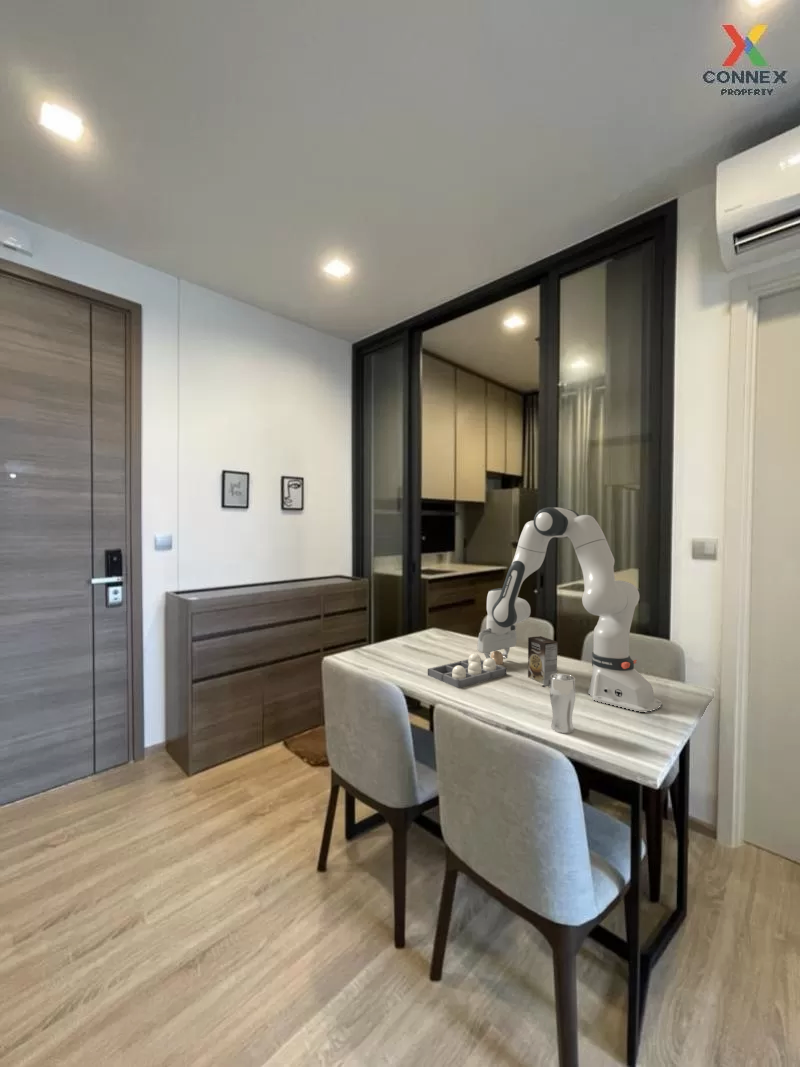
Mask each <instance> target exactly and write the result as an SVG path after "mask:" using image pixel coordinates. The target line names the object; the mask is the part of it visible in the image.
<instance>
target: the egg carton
mask: <svg viewBox="0 0 800 1067" xmlns="http://www.w3.org/2000/svg"><path fill="white" fill-rule="evenodd" d="M483 662H484V660H483V659H481V674H478V675H472V674H469V673H468V666H469V664H468V659H464V660H460V661H456V662H450V663H447V664H442V665H439V666H438V665H437V666H434V667H430V668H427V677H431V678H433V679H435V680H438V681H439V682H442V683H445V684H447V685H450V686H452V687H454V688H457V689H461V688H464V687H467V686H468V687H469V686H471V685H475V684H479V683H482V682H487V681H489V680H494V679H497V678H499V677H503V676H507V668H506V667H505V666H502V665H496V670H493V671H487V670H485V669H483ZM458 665H460V666H462V667H464V668H465V670H466V678H463V679H459V680H458V679H455V678H453V677H452V670H453V668H454V667H455V666H458Z"/></svg>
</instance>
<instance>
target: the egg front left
mask: <svg viewBox="0 0 800 1067" xmlns="http://www.w3.org/2000/svg"><path fill="white" fill-rule="evenodd" d="M452 677H453V678H455V679H458V680H459V679H463V678H466V670H465V668H464V667H462V666H460V665H458V666H455V667H454V668H453V670H452Z"/></svg>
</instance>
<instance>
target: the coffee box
mask: <svg viewBox="0 0 800 1067" xmlns="http://www.w3.org/2000/svg"><path fill="white" fill-rule="evenodd" d="M527 638H528V639H527V646H528V647H527V668H528V669H527V678H529V679H531V680H532V681H535V682H538V684H539V683H540V684H542V687H543V686H544V687H543V688H546V687H545V686H548V687H550V679H551V675H552V674H555V673H558V641H556V640H554V639H550V638H549V637H548V638H547V637H545V636H529V637H527Z"/></svg>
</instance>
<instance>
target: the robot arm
mask: <svg viewBox="0 0 800 1067" xmlns="http://www.w3.org/2000/svg"><path fill="white" fill-rule="evenodd" d="M553 538H567V539H569V540H570V541H571V544H572V547H573V549H574V551H575V556H577V560H578V563H579V565H580V569H581V571H582V572H581V573H582V577H583V588H584V591H583V594H582V597H581V601H582V602H581V603H582V605H583V607H584V609H585V611H586V612H587V613H589V614H590V615H593V616H597V617H598V621H597V623H596V625H595V627H594V629H593V650H592V652H591V666H592V673H591V679H590V684H589V687H588V690H587V693H588V695H589V694H590V697H592V698H593V699H592V698H591V699H592V701H594V700H595V701H594V702H597V701H598V702H597V703H601V702H602V703H601V704H605V703H606V704H605V705H608V704H610V705H609V706H612V705H614V706H613V707H616V706H618V708H620V707H622V708H621V709H624V708H626V709H625V710H628V709H630V710H629V711H632V710H634V711H633V712H636V711H639V712H638V713H640V712H644V711H650V710H653V709H656V708H658V707H659V706H661V704H662V705H663V702H662V700H661V699H658V698H656V697H655V693H654V692H655V691H654V687H653V685H652V683H650V681H648V679H646V678H645V677H644V676H643V675H642V674H641V673H640V672H639V671H637V669H635V664H637V659H634V660H633V659H632V658H631V656H630V633H631V632H630V631H631V627H632V623H633V618H634V613H635V609H636V606H637V605H638V603H639V601H640V592H639V589H638V588H637V586H635V585H634V584H633V583H631V582H628V581H626V580H625V581H624V580H616V578H615V570H614V567H615V566H614V565H615V564H616V563H615V562H616V561H615V558H614V554H613V553H612V551H611V548H610V545H609V543H608V540H607V538H606V535H605V534H604V532H603V530H602V528H601V526H600V524H599V523H598V521H597V520H596V519H595V517H594V516H593V515H590V514H589V515H588V514H579V513H577V512H576V511H575V510H572V509H566V508H562V507H558V506H557V507H550V506H548V507H543V508H541V509H539V510H538V511H537V512H536V513H535V515H534V517H533V520H530V521H527V522H526V523H525V524H524V526H523V528H522V531H521V533H520V536H519V539H518V543H517V546H516V551H515V553H514V557H513V559H512V562H511V564H510V566H509V568H508V571H507V573H506V577H505V580H504V582H503V585H502V588H501V587H500V588H499V587H498V588H494V589H490V590H488V593H487V596H486V612H487V615H486V619H485V620H486V622H485V623H486V628H485V629H481V631H480V632H479V633H478V638H477V647H476V648H477V652H479V653H481V654H484V656H485V659H487V658H491V653H493V652H494V651H500V650H503V653H502V655H503V660H505V659H508V656H509V652H510V648H513V647H516V644H517V638H518V637H517V631H516V630H517V624H519V623H521V622H525V621H526V620H528V619H529V618H530V616H531V613H532V608H531V605H530V603H529V602H528V601H527V600H526V599H524V598H521V597H520V596H519V593H520V590H521V587H522V585H523V582H524V581H525V580H526V579H527V578H528V577H529V576H530V575H532V574H533V573H534V572H536V571H538V570H539V569H540V568H541V566H542V564H543V562H544V560H545V557H546V554H547V550H548V549H547V548H548V545H549V542H550V540H552V539H553ZM518 596H519V597H518ZM661 707H662V706H661Z"/></svg>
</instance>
